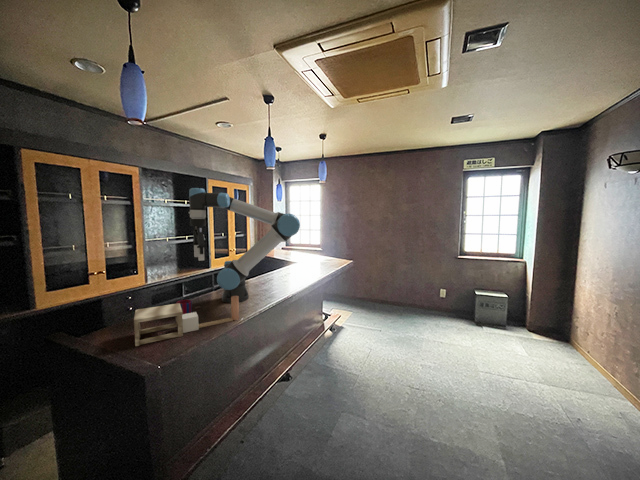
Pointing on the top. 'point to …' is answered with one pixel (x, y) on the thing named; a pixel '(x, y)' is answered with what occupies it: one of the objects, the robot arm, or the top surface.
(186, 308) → the mug
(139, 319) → the wooden holder
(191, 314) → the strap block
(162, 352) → the top surface
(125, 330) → the top surface
